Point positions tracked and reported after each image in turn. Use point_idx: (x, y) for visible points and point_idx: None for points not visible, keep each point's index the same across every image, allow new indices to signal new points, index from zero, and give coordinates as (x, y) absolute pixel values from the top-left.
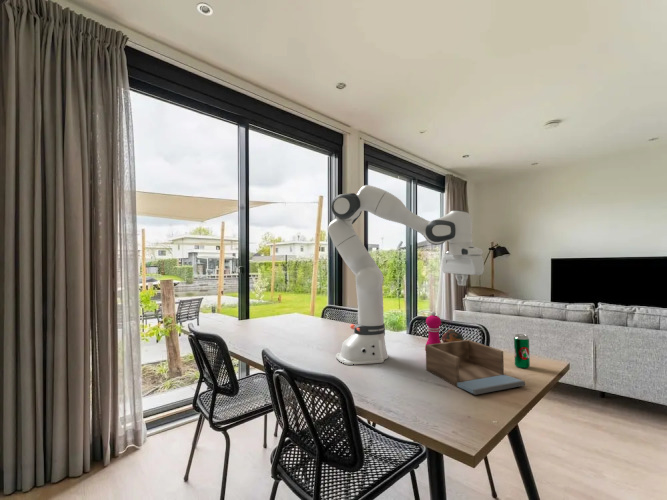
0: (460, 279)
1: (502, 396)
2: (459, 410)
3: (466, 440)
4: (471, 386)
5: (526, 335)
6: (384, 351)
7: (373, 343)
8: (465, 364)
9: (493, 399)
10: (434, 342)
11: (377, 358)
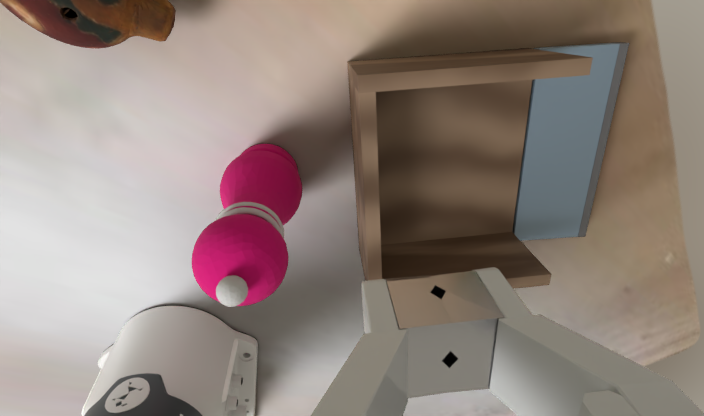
0: (398, 378)
1: (610, 159)
2: (599, 292)
3: (673, 332)
4: (558, 225)
5: None
6: (216, 345)
7: (225, 408)
8: (394, 118)
9: (608, 194)
10: (285, 218)
11: (236, 354)
